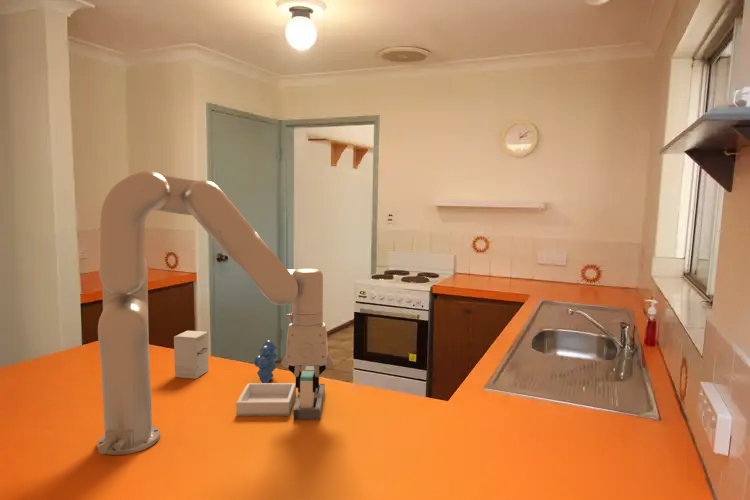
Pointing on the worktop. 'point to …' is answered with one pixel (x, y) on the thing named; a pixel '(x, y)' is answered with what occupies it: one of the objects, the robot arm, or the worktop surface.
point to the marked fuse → (306, 389)
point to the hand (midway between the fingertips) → (307, 389)
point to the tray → (266, 399)
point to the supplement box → (191, 354)
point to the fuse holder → (310, 412)
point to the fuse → (311, 368)
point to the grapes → (266, 361)
